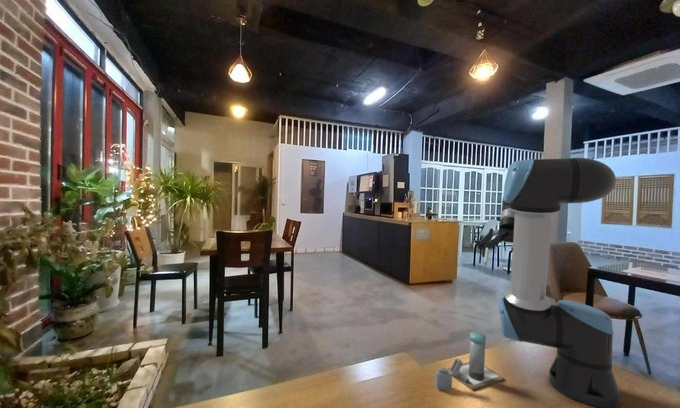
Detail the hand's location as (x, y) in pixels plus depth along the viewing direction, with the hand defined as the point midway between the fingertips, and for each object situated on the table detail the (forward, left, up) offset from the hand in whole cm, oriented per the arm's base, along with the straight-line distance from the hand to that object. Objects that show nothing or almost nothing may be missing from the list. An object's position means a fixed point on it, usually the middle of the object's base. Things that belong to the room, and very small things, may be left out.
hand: (506, 266), depth 99 cm
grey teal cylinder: (-8, +24, -29) cm, 38 cm away
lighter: (-8, +35, -30) cm, 47 cm away
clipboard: (-6, +23, -30) cm, 38 cm away
